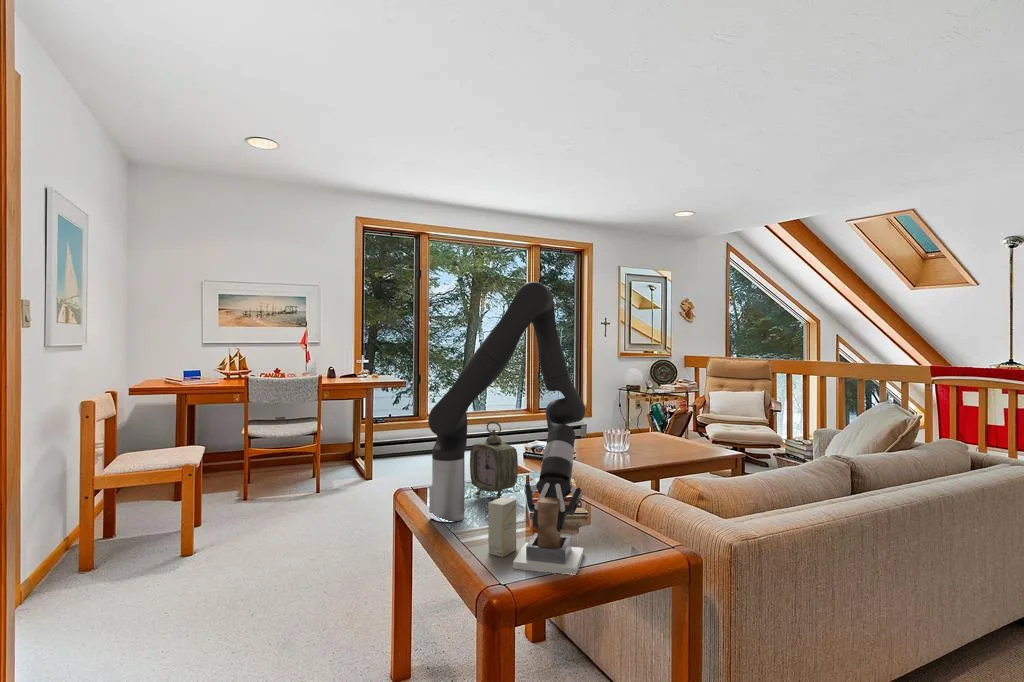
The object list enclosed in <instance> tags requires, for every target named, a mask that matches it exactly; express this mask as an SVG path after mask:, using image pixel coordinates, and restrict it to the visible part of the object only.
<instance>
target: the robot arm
mask: <svg viewBox="0 0 1024 682" xmlns="http://www.w3.org/2000/svg"><path fill="white" fill-rule="evenodd" d="M554 300H555V299H554V295H553V293H552V292H551V290H550V289H549V288H548V287H547V286H546V285H544V284H543V283H541V282H540V281H539V282H538V281H528V282H526V283H525V284H523V285H522V286H521V287H519V289H518V291H517V292H516V294H515V295H514V297H513V298H512V301H511V302H510V303H509V306H508V307H507V309H506V311H505V312H504V314H503V316H502V317H501V318H500V320H499V321H498V323H496V325H495V326H494V327H493V328H492V330H491V331H490V333H489V334H488V335H487V336H486V337H485V339H484V340H483V341H482V342H481V344H480V346H479V347H478V348H477V350H476V351H475V352H474V354H473V355H472V356H471V357H470V359H469V360H468V362H467V364H466V365H465V366H464V368H463V370H462V371H461V373H460V374H459V376H458V377H457V379H456V380H455V382H454V383H453V385H452V386H451V387H450V389H449V390H448V391H447V392H446V393H445V394H444V395H443V396H442V398H440V400H439V401H438V402H437V403H436V404H435V405H434V406H433V407H432V409H431V410H430V412H429V414H428V421H427V422H428V424H427V425H428V428H429V429H430V431H431V432H432V433H433V434H435V435H436V439H435V440H436V441H435V443H434V446H433V447H432V451H431V453H432V455H431V458H432V459H431V462H432V463H431V464H432V465H431V470H432V471H431V473H432V477H431V478H432V479H431V480H432V481H431V484H430V485H429V490H428V491H429V495H428V496H429V497H428V498H429V499H428V500H429V510H428V511H429V512H430V513H433V514H434V515H435V516H437V517H439V518H442V519H445V520H448V521H457V522H459V521H462V520H464V519H465V512H466V511H465V510H466V509H465V502H466V501H465V495H466V494H465V493H466V492H465V487H466V486H465V453H466V452H465V450H466V448H467V443H468V441H467V440H468V416H467V415H468V413H467V410H469V407H470V406H471V404H472V403H474V401H475V400H476V399H477V398H478V397H479V396H480V395H481V394H482V393H483V392H485V390H487V389H488V388H489V387H490V386H491V385H492V384H493V383H494V382H495V381H496V380H497V379H498V378H499V376H500V375H501V373H502V372H503V371H504V370H505V368H506V367H507V365H508V364H509V362H510V361H511V359H512V357H513V356H514V353H515V352H516V349H517V347H518V344H519V341H520V339H521V337H522V335H523V334H524V332H525V331H526V330H527V328H528V327H529V326H530V324H532V326H533V330H534V333H535V337H536V343H537V353H538V354H537V356H538V361H539V366H540V367H539V368H540V370H541V374H542V378H543V382H544V386H545V388H546V390H547V391H548V392H560V393H561V394H562V396H564V397H562V398H559V399H558V398H557V399H555V400H551V401H549V403H548V404H547V405H546V408H545V418H546V425H547V440H546V444H545V448H544V451H543V454H542V455H543V456H542V461H541V466H540V468H541V469H540V474H539V479H538V481H537V482H536V484H534V485H530V484H529V483H526V484H525V485H524V486H525V487H524V488H525V495H526V504H527V507H528V510H529V512H533V516H532V524H533V526H534V528H535V530H538V501H539V500H540V499H541V497H542V498H544V497H552V498H558V499H560V506H559V508H560V512H559V513H558V521H557V531H558V532H562V530H564V528H565V523H566V517H567V516H569V515H570V516H573V515H575V513H576V510H577V508H578V506H579V504H580V501H581V499H582V496H583V492H582V488H580V487H576V488H575V487H572V485H571V482H572V481H571V480H572V473H573V466H574V457H575V456H574V448H575V441H576V432H575V430H574V429H573V427H572V426H570V424H575V423H579V422H581V421H582V420H583V419H584V418H585V414H586V407H585V404H584V402H583V399H582V398H581V396H580V395H579V393H578V391H577V389H576V388H575V386H574V383H573V381H572V380H571V377H570V374H569V370H568V365H567V363H566V359H565V356H564V352H563V349H562V344H561V341H560V337H559V333H558V326H557V321H556V312H555V301H554ZM536 491H537V492H538V493H539V495H538V499H537V502H536V503H535V504H534V498H533V496H534V495H535V494H536ZM569 495H571V497H572V498H571V500H570V501H569V503H568V506H565V499H566V498H567V497H568V496H569Z"/></svg>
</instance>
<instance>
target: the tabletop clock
mask: <svg viewBox="0 0 1024 682" xmlns="http://www.w3.org/2000/svg"><path fill="white" fill-rule="evenodd" d="M490 424H495V425H496V426H498V427H499V431H497V432H496V430H495V429H492V431H491V430H490V429H489V425H490ZM486 430H487V432H488V433H489V434H490V435H489V436H488V437H487V438H486V440H485V442H482V443H481V442H480V443H475V444H472V446H471V448H470V453H469V454H470V455H469V474H470V481H471V484H472V485H473V486H474V487H476V488H477V489H479V490H477V491H475V493H474V494H475V496H476V495H481V492H482V491H484V492H485V491H486V492H490V493H495V492H497V493H496V497H497V496H498V497H497V499H498V498H501V497H502V491H503V490H506V489H507V490H508V489H511V488H514V487H515V485H516V483H517V481H518V476H519V475H518V473H519V472H518V471H519V470H518V469H519V460H518V452H517V449H516V448H515V447H514V446H513V445H510V444H508V443H505V442H502V439H501V437H500V435H499V434H501V431H502V426H501V425H500V423H499V422H497V421H495V420H490V421H488V423H487V425H486ZM500 496H501V497H500Z"/></svg>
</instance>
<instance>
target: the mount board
mask: <svg viewBox="0 0 1024 682" xmlns="http://www.w3.org/2000/svg"><path fill="white" fill-rule="evenodd" d="M572 538H573V537H572V536H569V535H561V546H560V548H552V547H542V546H538V532H534V533H533V535H532V537H531V539H530V540H529V542H528V541H526V542H525V543H524V545H523V546H522V547H521V549H520V550H519V552H518V554H517V555H516V557H515V558H514V559H513V561H512V569H514V570H522V571H531V572H539V573H540V572H541V573H547V572H550V573H549V574H556V573H569V574H571V573H572V574H576V573H577V574H578V572H577V571H579V569H580V566H581V563H582V561H583V557H584V555H585V553H584V552H585V551H584V547H577V546H572V545H573V544H572V543H573V540H572ZM551 572H552V573H551Z"/></svg>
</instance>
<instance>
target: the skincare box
mask: <svg viewBox="0 0 1024 682" xmlns="http://www.w3.org/2000/svg"><path fill="white" fill-rule="evenodd" d="M487 504H488V516H487V518H488V529H487V531H488V536H487V537H488V554H489V555H493V556H497V557H500V558H504V557H506V556H508V555H509V554H511V553H512V552H514V551H516V550H517V499H515V498H510V497H504V496H501V497H500V498H498V497H497V498H496V499H493V500H491V501H489V502H488V503H487Z"/></svg>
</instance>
